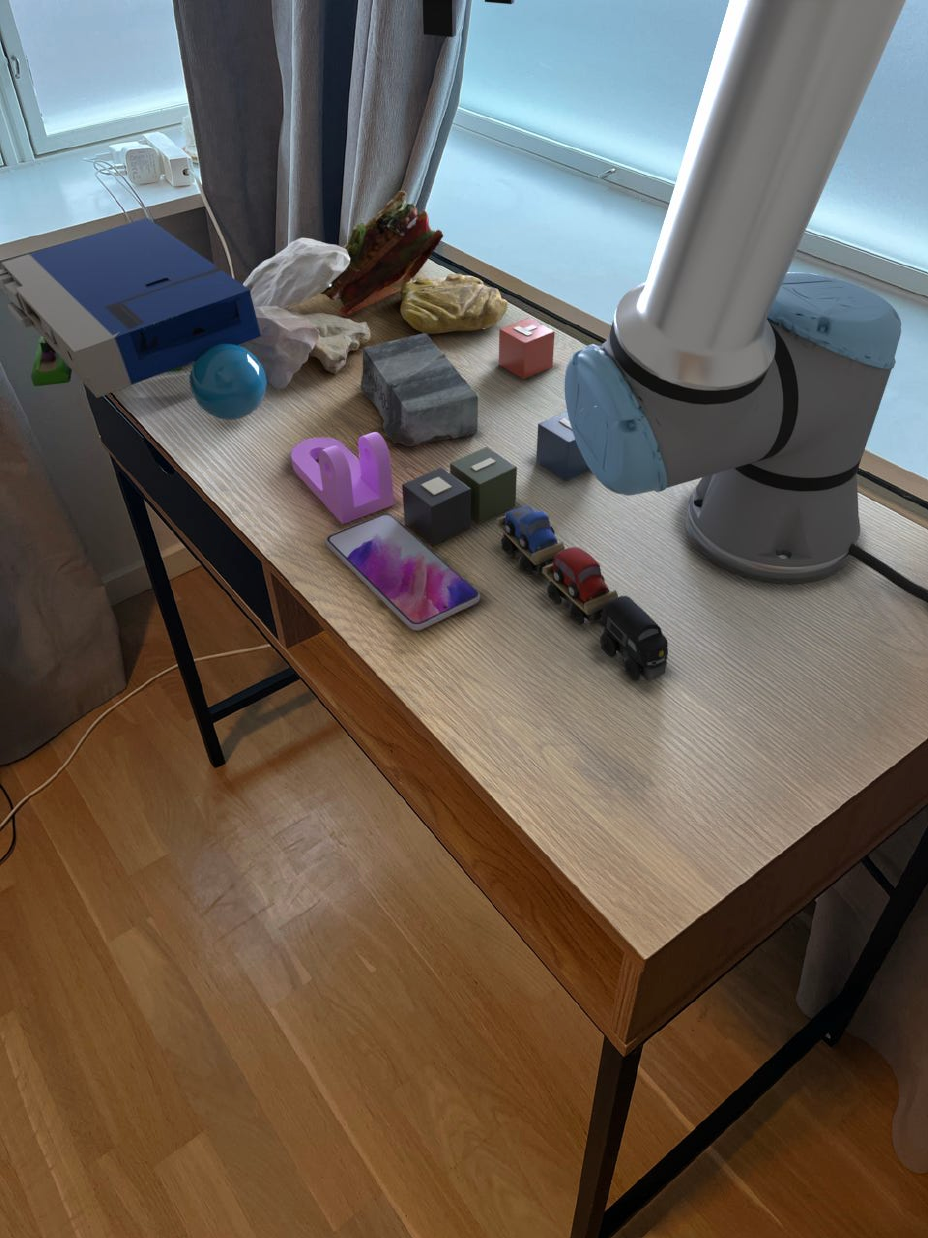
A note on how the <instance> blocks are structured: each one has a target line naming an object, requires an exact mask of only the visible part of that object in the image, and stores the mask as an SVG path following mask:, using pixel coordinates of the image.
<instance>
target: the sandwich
mask: <svg viewBox="0 0 928 1238" xmlns="http://www.w3.org/2000/svg"><path fill="white" fill-rule="evenodd" d="M407 201H408V194H407V192H406V191H405V190H399V191H398V192H397V193H396V194H395V196H393V198H392V199H390V201H388V202H387V203H386V204H385V206H384V207H383V208H382V210H380V211H378V212H377V214H376V215H375V217H373V218H371V219H370V220H368V221H367V223H366V224H365V223H364V222H360V223H358V224H355V225H353V229H351V234H350V236H349V237H348V239H347V243H346V244H345V245H343V246H342V248H345V249H346V250H347V252H348V255H349V257H350V262H349V265H348V266H347V268H346V269H345V270H344V271H343V272H342V273H341V274H340V275H339V276H338V277H337V278H336V279H334V280H333V281H332V282H331V283H330V284H331V286H330V287H329V286H328V287H327V288H326V290H325V291H323V292H322V293H320V294H319V295H323V296H326V297H327V298H328V299H330V300H331V301H338V300H339V301H340V302H341V304H342V307H340V308H341V309H340V314H341V316H343V317H347V316H349V315H352V314H353V313H356V312H359V310H362V309H364V308H366V307H368V306H370V305H373V304H374V303H377V302H379V301H380V300H382V299H385V298H387V297H388V296H390V295H393V294H396V293H397V292H399V291H401V289H402V287H403V285H404V284H405V283H406V282H409V281H410V280H411V279H412V280H413V278H414V277H415V276H416V275H417V274H418V273H419V272H420V270H421V269H422V268H423V266H424V265H425V264H426V263H427V262H428V260H429V258H430V257H431V256H432V254H433V252H434V251H436V248H437V247H438V246H439V244H440V243H441V240H442V238H443V237H444V233H443V231H442V230H440V229H439V228H437V230H433V229H431V226H430V219H429V214H428V212H427V211H426V210H425V209H422V210H421V212H420V213H419V212H418V209H417V208H418V207H417V206H415V205H414V204H413V203H407ZM406 203H407V204H406Z"/></svg>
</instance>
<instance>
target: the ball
mask: <svg viewBox="0 0 928 1238" xmlns="http://www.w3.org/2000/svg"><path fill="white" fill-rule="evenodd" d="M267 383H268V381H266V375H265V371H264V369H263V366H262V365H261V363H260V361H259V360H258V359H257V357H256V356H255V355H254V354H253V353H252V352H250V351H249V350H247V349H246V348H244V347H242V346H239V345H236V344H218V345H214V346H212V347H210V348H209V349H207V350H206V351H205V352H203V353H202V354H201V355H200V356H199V357H198V359H197V360H196V361H194V362H193V363H192V367H191V369H190V373H189V387H190V388H189V389H190V391H191V394H192V398H193V399H194V401H195V402H196V404H197V405H198V406H199V407H200V408H201V409H202V410H203V411H204V412H205V413H207V414H208V415H210V416H213V417H214V418H217V419H220V420H224V421H235V420H240V419H243V418H245V417H248V416H250V415H251V414H252V413H254V412H255V411H256V410H258V408H259V407H260V406H261V404H262V403H263V401H264V399H265V394H266V391H267Z"/></svg>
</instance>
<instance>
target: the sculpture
mask: <svg viewBox="0 0 928 1238" xmlns="http://www.w3.org/2000/svg"><path fill="white" fill-rule="evenodd" d="M400 298H401V304H400V314H401V317H402V318H403V319H404V320H405V322H407V323H408V324H409V325H410V326H411V327H412V328H413V329H415V330H416V331H418V332H420V333H422V334H423V333H426V334H427V335H435V334H437V335H438V334H444V333H451V332H465V331H466V332H467V331H478V330H481V329H483V330H485V329H489V328H492V327H494V326H495V325H497V324H498V323H499V322H500V321H501V320H502V319H503V317H504V315H505V314H506V312H507V310H508V307H509V303H508V301H507V300H506V299H505V298H502V296H501V293H500V290H499V289H498V288H495V287H491V286H490V287H489V286H487V285H485V284H484V281H482V280H481V279H480V278H478V277H475V276H473V275H465V274H464V275H463V274H462V273H460V272H459V273H449V274H447V275H446V276H444V277H438V278H433V279H430V278H429V277H426V276H425V277H417V278H416V279H414V280H413V279H412V281H410V282H406V283H405V284H404V285H403V287H402V289H401V290H400Z"/></svg>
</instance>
